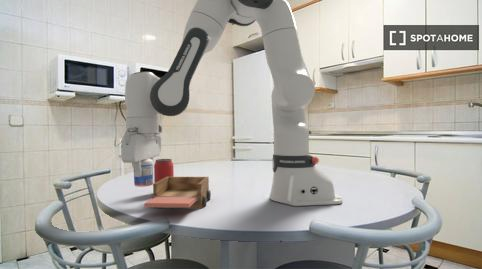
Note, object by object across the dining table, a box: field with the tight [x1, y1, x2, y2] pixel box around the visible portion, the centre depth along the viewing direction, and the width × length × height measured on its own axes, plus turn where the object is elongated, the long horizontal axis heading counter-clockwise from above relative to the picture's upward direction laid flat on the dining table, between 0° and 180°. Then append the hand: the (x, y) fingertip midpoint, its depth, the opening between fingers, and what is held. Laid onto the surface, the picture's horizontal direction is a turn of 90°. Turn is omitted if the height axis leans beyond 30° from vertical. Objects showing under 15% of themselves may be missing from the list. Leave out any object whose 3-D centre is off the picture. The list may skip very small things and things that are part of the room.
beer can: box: [153, 158, 175, 184], centre depth 98 cm, size 7×7×12 cm
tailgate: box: [143, 196, 198, 208], centre depth 74 cm, size 12×1×9 cm
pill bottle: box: [133, 152, 154, 188], centre depth 82 cm, size 6×5×10 cm
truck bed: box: [151, 176, 212, 209], centre depth 85 cm, size 16×12×7 cm
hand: (143, 174), depth 82 cm, fingers closed on pill bottle, 5 cm apart
